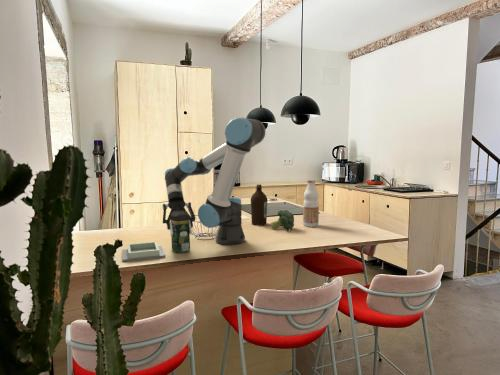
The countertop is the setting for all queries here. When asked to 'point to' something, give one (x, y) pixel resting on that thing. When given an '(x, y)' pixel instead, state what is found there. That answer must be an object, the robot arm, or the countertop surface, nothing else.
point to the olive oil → (259, 207)
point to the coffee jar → (180, 232)
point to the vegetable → (284, 220)
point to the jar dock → (142, 251)
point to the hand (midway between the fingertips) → (181, 234)
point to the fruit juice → (311, 205)
